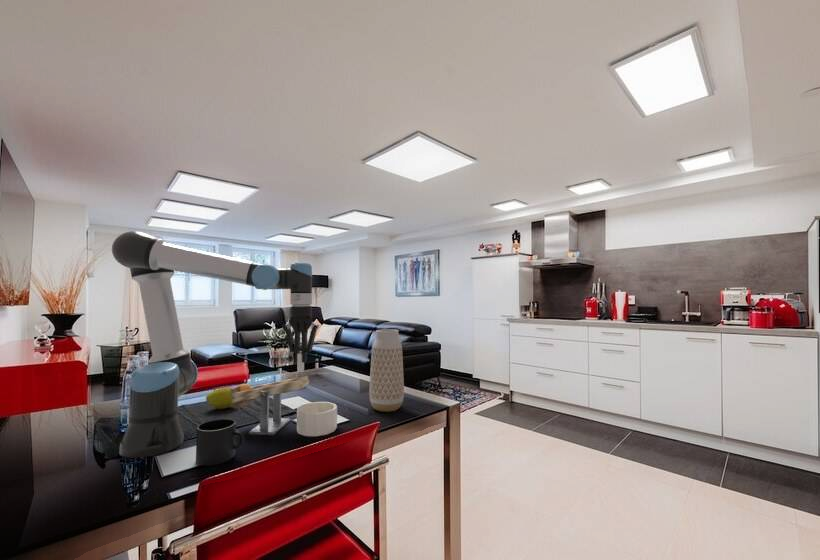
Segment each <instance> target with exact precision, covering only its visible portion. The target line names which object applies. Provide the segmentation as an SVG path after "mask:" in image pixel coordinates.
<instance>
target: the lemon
mask: <svg viewBox="0 0 820 560" xmlns="http://www.w3.org/2000/svg"><path fill="white" fill-rule="evenodd" d="M230 389H231V388H230V387H220V388H216V389H214V390H213V391H212V392H210V393H208V394H206V396H205V400H206V403H207V404H209V405H210V406H211V407H212V408H214V409H216V410H223V409H228V408H230V407H232V406H233V405H235V402H233V403H232V397H231V391H230Z"/></svg>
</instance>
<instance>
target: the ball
mask: <svg viewBox="0 0 820 560" xmlns="http://www.w3.org/2000/svg"><path fill="white" fill-rule="evenodd" d="M242 384H243V385H241V384H240V385H241V387H240V389H239V391H240V392H242V391H247V390H251V387H252V386H250V384H248V383H242Z"/></svg>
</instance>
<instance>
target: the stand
mask: <svg viewBox="0 0 820 560" xmlns="http://www.w3.org/2000/svg"><path fill="white" fill-rule="evenodd" d="M272 398H273V399H272V400H273V403H272V406H273V407H272V417H270V414H269V413H270V412H269V411H270V395H269V391H261V397H260V405H259V410H260V411H259V412H260V413H259V424H258V425H256V426H255V427H254V428H252V429H251V430H249V431H248V435H256V436H257V435H259V436H261V435H263V436H266V435H267V436H274V435H276V433H278V432H279V431H280V430H281V429H282V428H283V427H285V426H286V425H287V424H288V423H289V422H291V418H288V417H287V418H286V417H285V418H284V417H282V393H279V394H274V395H273V397H272Z"/></svg>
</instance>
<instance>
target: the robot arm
mask: <svg viewBox="0 0 820 560" xmlns="http://www.w3.org/2000/svg"><path fill="white" fill-rule="evenodd" d="M111 253H112V256H113V258H114V259H115V261H116V262H117V263H119V264H120V265H122V266H123V267H125V268H129V270H130V275H131V276H130V277H131V279H132V280H133V281H135V282H137V284H138V286H139V292H140V297H141V302H142V306H143V312H144V317H145V323H146V327H147V334H148V338H149V343H150V349H151V355H152V356H151V357H150V358H149V359H148V361H147V364H144V365H141V366H139V367H137V368H135V369H133V371H132V372H131V373H130V378H129V379H130V380H129V382H128V385H129V386H128V387H129V400H128V401H129V403H128V405H129V406H128V424H127V426H126V429H125V432H124V435H123V437H122V440H121V442H120V444H119V456H121V457H123V458H129V459H138V458H139V459H140V458H146V457H147V458H148V457H154V456H157V455H161V454H164V453H167V452H170V451H172V450H174V449H176V448H178V447H179V446H181V445H182V444H183V443H184V435H185V434H184V431H183V430H182V427H181V426H182V425H181V423H180V421H179V417H178V409H179V408H178V407H179V397H181V396H182V395H185V394H186V393H188V391H190V390H191V389H192V388H193V386H194V385H195V383H196V382H197V379H198V376H199V370H198V367H197V365H196V363H195V362H194V361H192V358H191V354H190V353H191V352H190V351H188V350H187V349H185V348H184V344H183V341H182V340H183V339H182V334H181V328H180V324H179V319H178V313H177V308H176V301H175V298H174V297H175V296H174V292H173V289H172V282H171V279H172V277H173V276H175V272H179V273H180V272H181V273H185V274H190V275H194V276H201V277H205V278H209V279H210V278H211V279H215V280H220V281H226V282H231V283H236V284H241V285H244V286H245V285H246V286H250V287H254V288H255V289H257V290H262V291H263V290H265V291H266V290H290V297H289V298H290V299H289V300H290V301H289V302H290V303H289V304H290V305H291V306H290V308H289V317H290V318H289V321H288V323H286V324H284V325H282V328H283V330H284V332H285V336H286V341H287V345H288V350H289V352H290V353H294V362H295V363H296V364H297V365H296V366H297V367H296V369H297V372H296V373H302V372H305V363H306V362H307V360H308V357H307V356H308V355H307V354H308V353H310V352H312V350H313V348H314V347H313V346H314V342H315V338H316V334H317V331H318V329H319V328H320V325H319V324H317V323H315V322H314V319H313V307H312V306H311V305H312V304H313V267H312V265H311V264H310V263H307V262H292V263H291V264H290V267H288V268H276V267H274V265H271V264H267V263H264V264H263V263H259V262H253V261H249V260H245V259H242V258H241V259H240V258H237V257H236V258H235V257H232V256H227V255H221V254H217V253H213V252H207V251H202V250H198V249H194V248H189V247H185V246H181V245H177V244H176V245H175V244H171V243H169V242H168V241H167V240H165V239H163V238H161V237H159V236H155V235H151V234H148V233H146V232H143V231H138V230H137V231H135V230H134V231H132V230H131V231H126V232H123V233H122V234H119V235H118V236H117V237H116V238H115V240H114V241H112V246H111ZM310 329H311V330H310ZM292 330H293V333H292ZM309 330H310V333H309V332H308V331H309ZM293 334H294V337H293ZM308 334H309V338H308Z"/></svg>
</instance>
